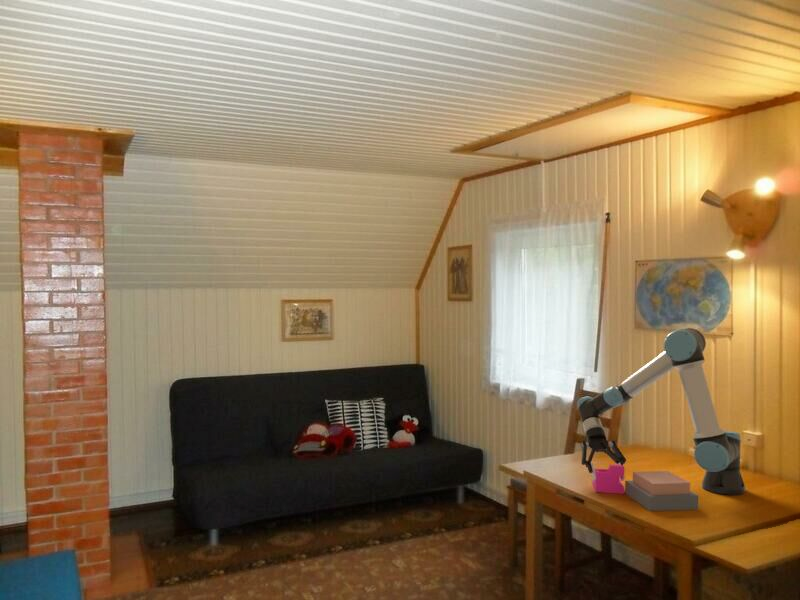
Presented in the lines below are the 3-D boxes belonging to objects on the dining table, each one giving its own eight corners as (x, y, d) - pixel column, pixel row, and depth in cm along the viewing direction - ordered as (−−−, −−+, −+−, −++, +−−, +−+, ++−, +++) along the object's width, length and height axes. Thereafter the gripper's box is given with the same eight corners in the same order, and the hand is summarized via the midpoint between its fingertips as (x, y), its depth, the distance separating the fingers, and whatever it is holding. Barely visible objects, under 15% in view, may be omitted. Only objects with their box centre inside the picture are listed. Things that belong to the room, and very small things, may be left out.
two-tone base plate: (669, 492, 257) (670, 469, 257) (698, 509, 237) (698, 484, 237) (625, 493, 255) (625, 470, 255) (649, 510, 235) (650, 485, 235)
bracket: (623, 493, 255) (624, 467, 255) (596, 492, 257) (596, 465, 257) (618, 484, 267) (619, 459, 267) (592, 483, 269) (592, 457, 268)
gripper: (618, 435, 279) (634, 483, 264) (565, 436, 277) (578, 484, 261) (623, 425, 274) (640, 474, 258) (569, 426, 271) (583, 475, 256)
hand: (609, 479), depth 260 cm, fingers closed on bracket, 10 cm apart
